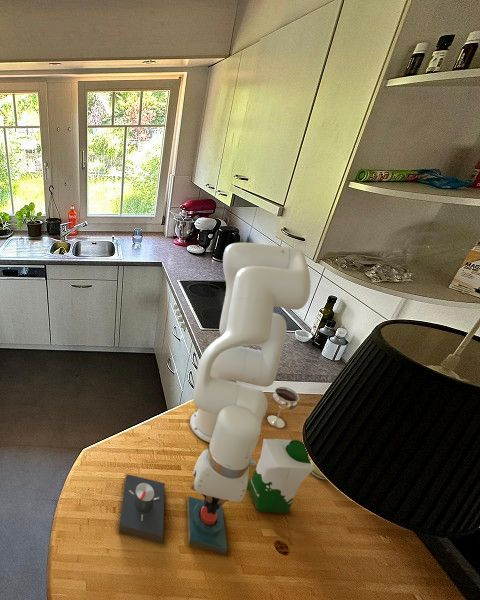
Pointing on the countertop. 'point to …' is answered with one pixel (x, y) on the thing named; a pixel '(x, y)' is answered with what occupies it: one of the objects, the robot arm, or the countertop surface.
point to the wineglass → (283, 404)
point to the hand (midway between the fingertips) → (210, 507)
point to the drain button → (208, 517)
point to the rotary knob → (144, 497)
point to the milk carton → (279, 474)
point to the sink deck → (138, 521)
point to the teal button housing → (205, 528)
